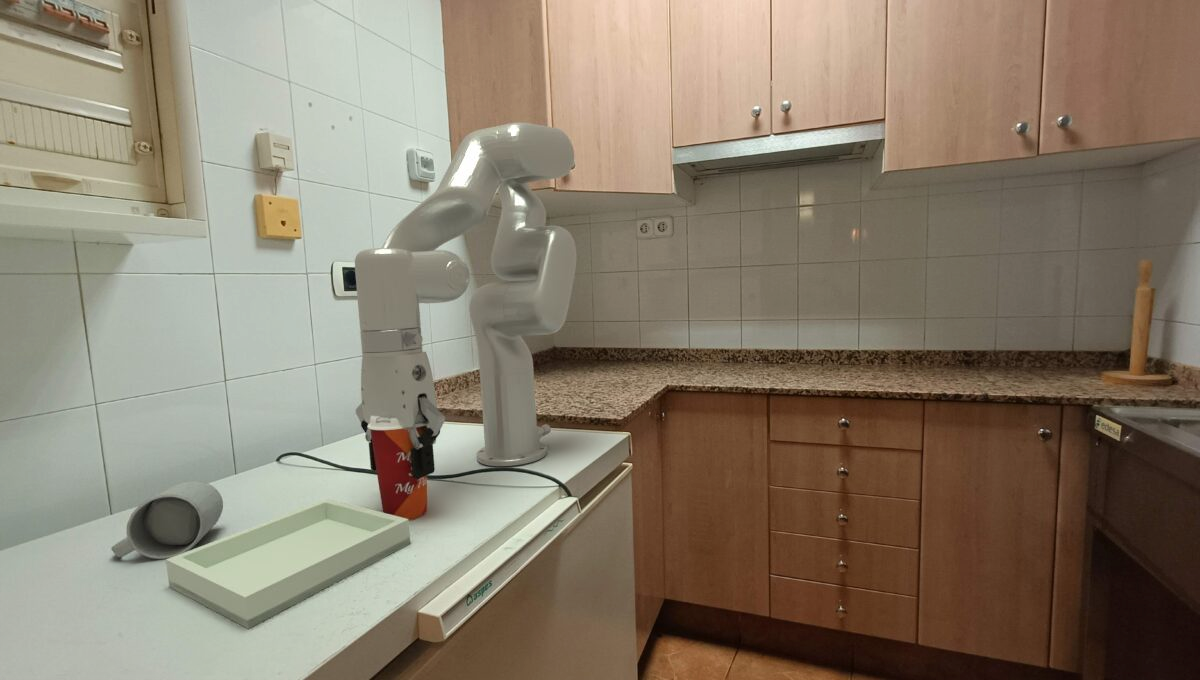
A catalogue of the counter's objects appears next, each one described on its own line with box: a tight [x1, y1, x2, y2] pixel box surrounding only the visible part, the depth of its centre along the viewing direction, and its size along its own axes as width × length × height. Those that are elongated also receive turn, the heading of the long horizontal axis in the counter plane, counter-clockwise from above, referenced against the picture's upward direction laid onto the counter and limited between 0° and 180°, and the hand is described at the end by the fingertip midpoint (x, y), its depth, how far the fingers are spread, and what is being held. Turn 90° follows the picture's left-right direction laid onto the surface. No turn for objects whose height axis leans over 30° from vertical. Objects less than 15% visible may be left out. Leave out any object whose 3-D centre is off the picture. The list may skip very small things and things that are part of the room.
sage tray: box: [165, 498, 412, 630], centre depth 59 cm, size 18×16×3 cm
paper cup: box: [367, 415, 428, 522], centre depth 71 cm, size 8×8×14 cm
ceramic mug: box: [110, 480, 224, 560], centre depth 65 cm, size 11×8×8 cm
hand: (402, 470), depth 71 cm, fingers closed on paper cup, 7 cm apart
